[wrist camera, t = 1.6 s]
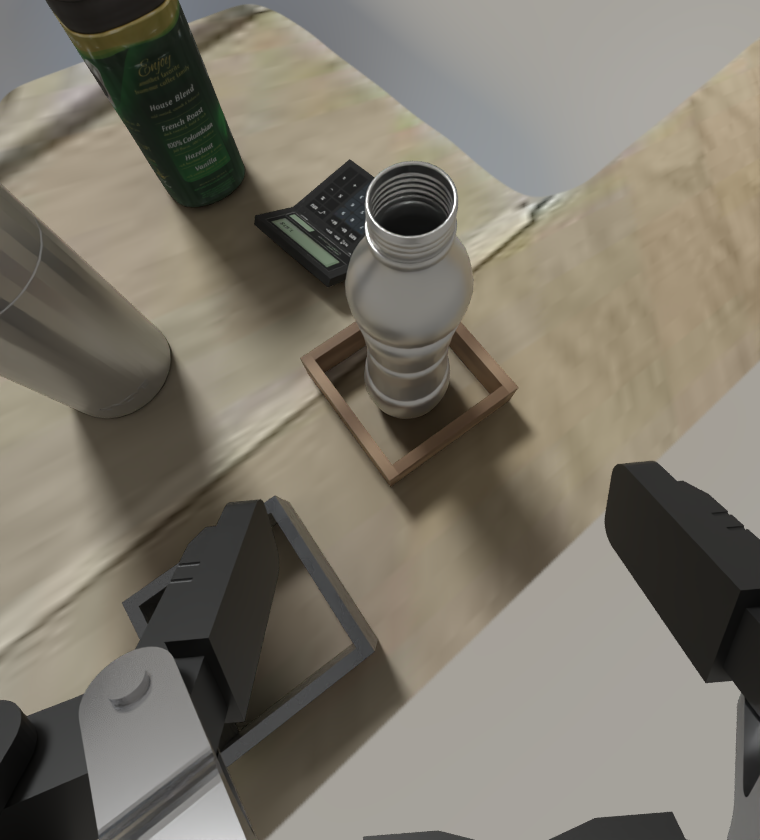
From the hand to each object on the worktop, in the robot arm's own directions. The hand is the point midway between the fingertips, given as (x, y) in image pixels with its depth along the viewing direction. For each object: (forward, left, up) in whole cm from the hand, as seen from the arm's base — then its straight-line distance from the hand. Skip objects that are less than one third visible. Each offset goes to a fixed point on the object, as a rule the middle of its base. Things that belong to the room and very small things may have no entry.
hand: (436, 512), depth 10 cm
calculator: (-26, +11, -24) cm, 37 cm away
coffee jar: (-40, +4, -23) cm, 47 cm away
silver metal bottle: (-10, +7, -23) cm, 26 cm away
